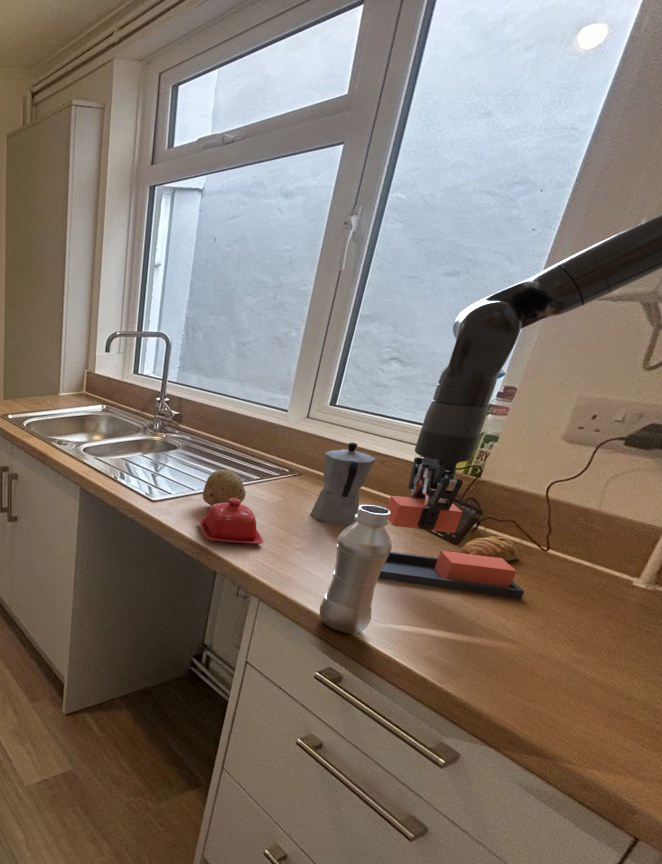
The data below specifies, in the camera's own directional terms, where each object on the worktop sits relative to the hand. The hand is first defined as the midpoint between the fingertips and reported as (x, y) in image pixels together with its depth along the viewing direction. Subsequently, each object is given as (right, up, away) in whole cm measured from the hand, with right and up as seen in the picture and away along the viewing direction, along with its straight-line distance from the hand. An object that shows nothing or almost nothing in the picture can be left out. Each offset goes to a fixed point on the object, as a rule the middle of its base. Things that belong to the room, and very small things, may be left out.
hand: (419, 521), depth 94 cm
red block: (+9, -10, +1) cm, 14 cm away
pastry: (+21, -7, +10) cm, 24 cm away
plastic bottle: (-22, -16, -11) cm, 29 cm away
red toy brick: (0, 0, 0) cm, 0 cm away
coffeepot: (+2, 0, +27) cm, 27 cm away
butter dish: (-25, -4, +20) cm, 32 cm away
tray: (+4, -10, +3) cm, 12 cm away
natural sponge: (-21, +2, +33) cm, 39 cm away
